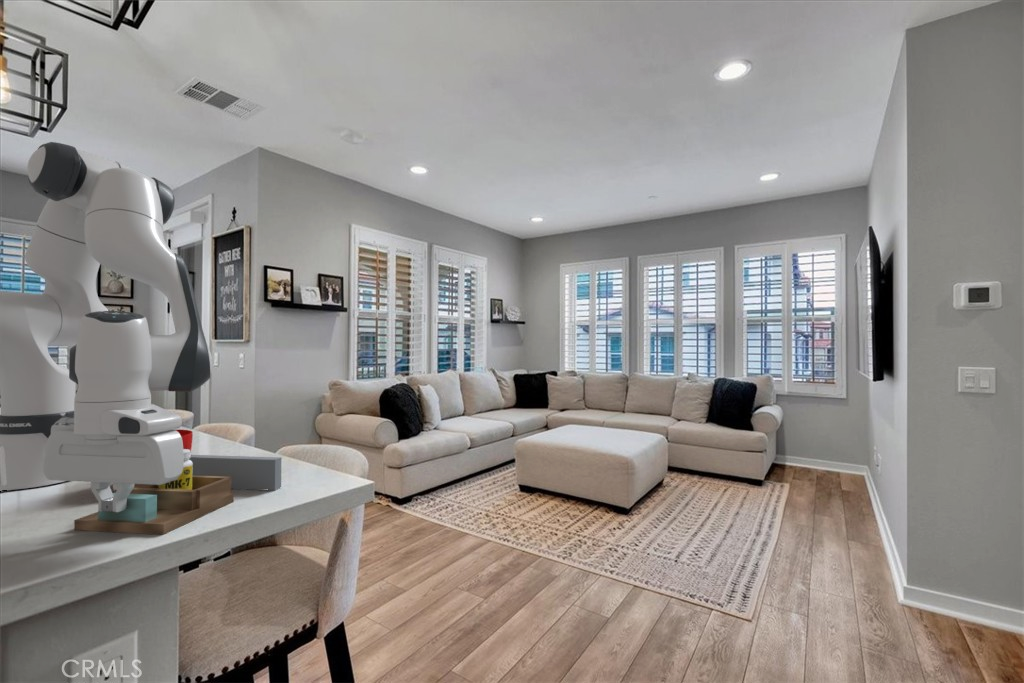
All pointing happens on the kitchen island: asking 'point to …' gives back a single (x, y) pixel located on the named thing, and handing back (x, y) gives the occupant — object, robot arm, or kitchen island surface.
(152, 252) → the robot arm
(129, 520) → the divided wooden tray
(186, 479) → the supplement bottle
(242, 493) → the kitchen island surface
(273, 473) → the board
